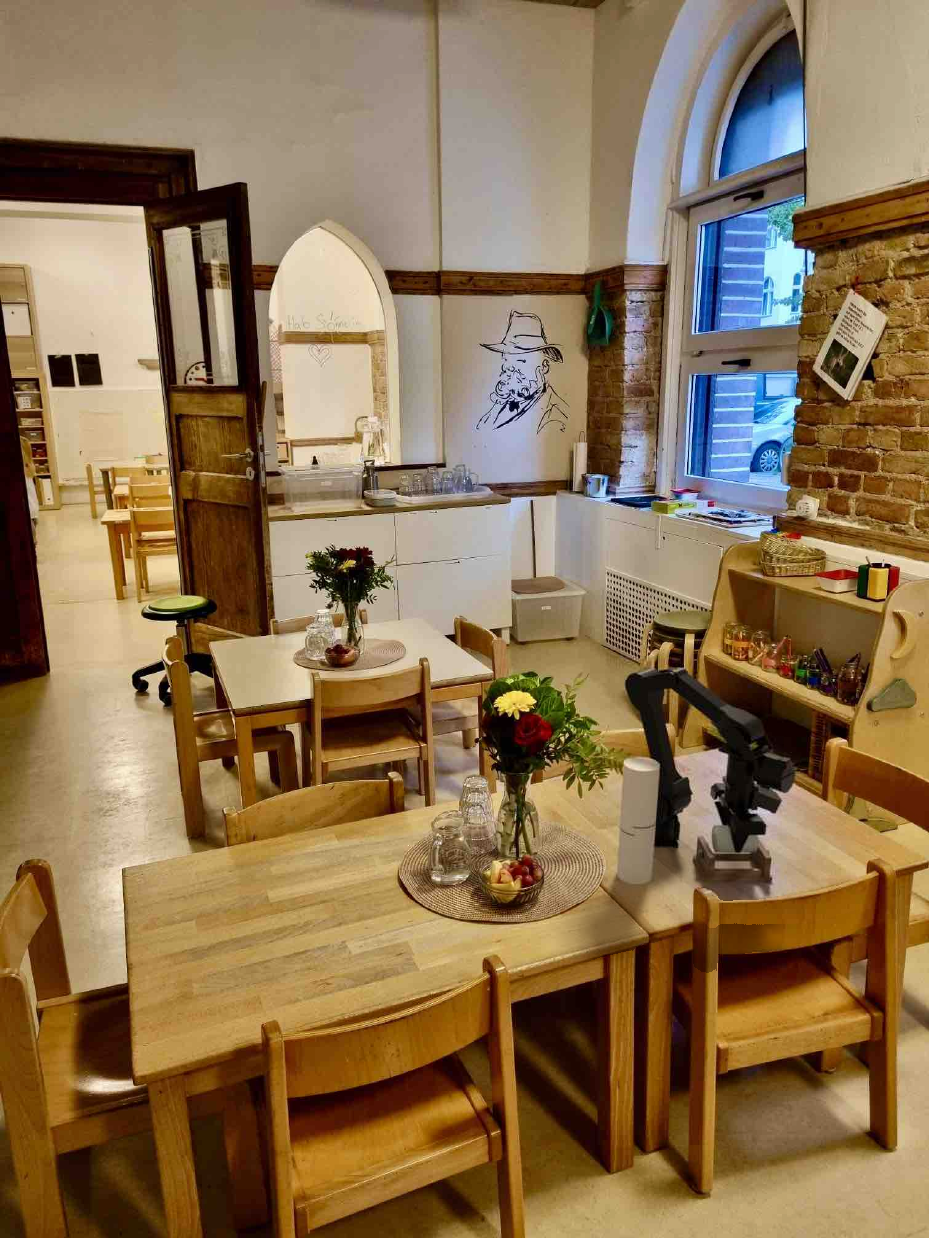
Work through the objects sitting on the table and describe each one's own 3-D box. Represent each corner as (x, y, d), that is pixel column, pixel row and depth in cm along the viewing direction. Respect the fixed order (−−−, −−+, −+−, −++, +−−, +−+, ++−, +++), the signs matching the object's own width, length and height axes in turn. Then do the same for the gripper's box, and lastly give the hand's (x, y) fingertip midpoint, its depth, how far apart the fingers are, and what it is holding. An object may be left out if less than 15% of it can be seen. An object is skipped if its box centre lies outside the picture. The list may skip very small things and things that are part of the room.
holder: (702, 881, 189) (704, 857, 187) (691, 859, 197) (693, 836, 196) (773, 881, 189) (776, 857, 187) (759, 859, 198) (761, 836, 196)
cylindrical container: (651, 886, 187) (659, 772, 180) (616, 881, 188) (623, 769, 182) (651, 868, 193) (659, 758, 187) (617, 864, 195) (624, 755, 188)
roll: (716, 857, 189) (718, 832, 188) (709, 844, 194) (711, 820, 193) (757, 857, 189) (760, 833, 188) (749, 844, 195) (751, 820, 193)
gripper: (796, 796, 179) (787, 868, 183) (764, 758, 197) (757, 824, 201) (739, 796, 179) (732, 868, 183) (712, 758, 197) (706, 824, 201)
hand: (733, 845), depth 192 cm, fingers closed on roll, 5 cm apart
